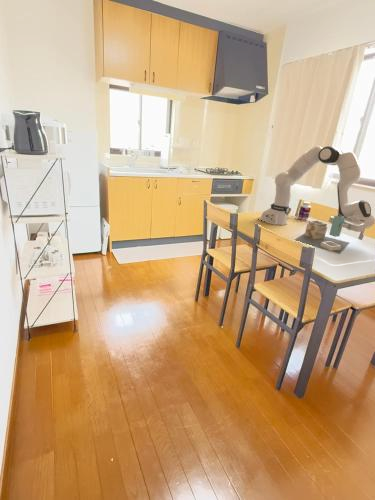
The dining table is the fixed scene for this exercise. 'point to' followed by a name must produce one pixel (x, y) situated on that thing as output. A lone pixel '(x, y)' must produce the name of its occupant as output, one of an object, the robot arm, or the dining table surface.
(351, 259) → the dining table surface
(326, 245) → the lower socket
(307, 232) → the brown mottled container
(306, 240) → the mat
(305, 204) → the pill bottle
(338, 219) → the plug block
